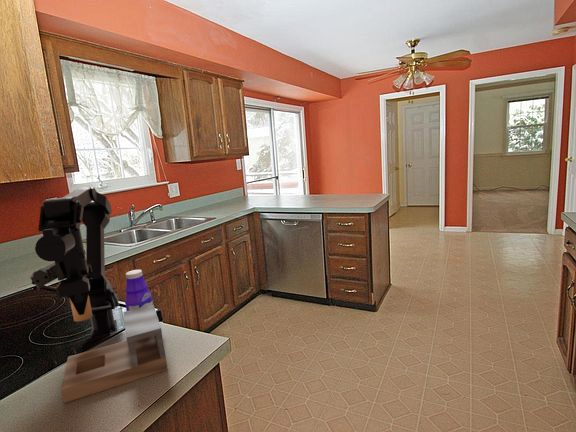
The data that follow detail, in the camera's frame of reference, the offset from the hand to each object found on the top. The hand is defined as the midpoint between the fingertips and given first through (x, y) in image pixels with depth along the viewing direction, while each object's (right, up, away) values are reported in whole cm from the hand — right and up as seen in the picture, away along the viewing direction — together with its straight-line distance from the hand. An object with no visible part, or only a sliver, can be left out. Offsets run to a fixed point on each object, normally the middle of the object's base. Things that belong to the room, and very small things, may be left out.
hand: (82, 311), depth 88 cm
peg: (0, -2, 0) cm, 2 cm away
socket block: (+12, -12, -6) cm, 17 cm away
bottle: (+11, -9, +11) cm, 18 cm away
